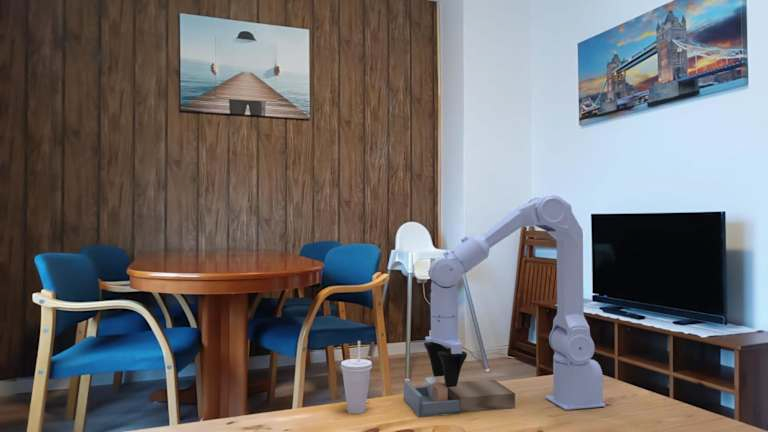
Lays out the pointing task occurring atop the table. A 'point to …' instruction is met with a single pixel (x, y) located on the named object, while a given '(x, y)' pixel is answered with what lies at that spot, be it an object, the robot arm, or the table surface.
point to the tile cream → (430, 384)
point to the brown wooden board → (481, 395)
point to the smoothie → (356, 382)
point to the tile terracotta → (439, 392)
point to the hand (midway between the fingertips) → (444, 381)
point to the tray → (428, 402)
